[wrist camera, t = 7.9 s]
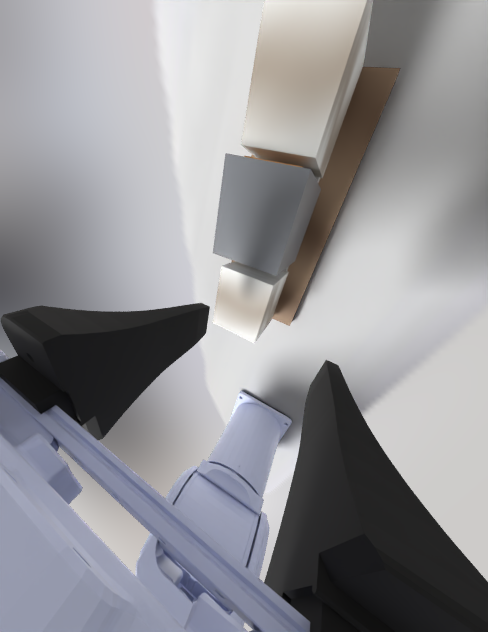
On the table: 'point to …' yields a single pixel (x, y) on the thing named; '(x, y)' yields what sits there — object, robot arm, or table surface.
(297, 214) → the block
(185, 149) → the table surface
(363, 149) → the cream blocky elongated piece
